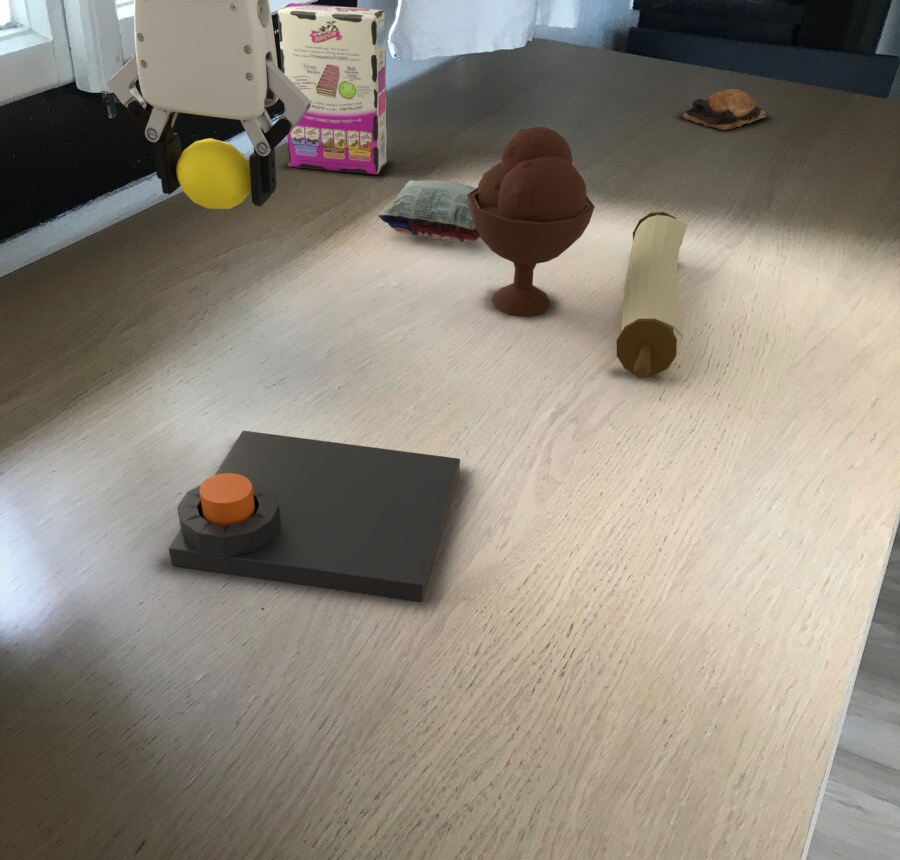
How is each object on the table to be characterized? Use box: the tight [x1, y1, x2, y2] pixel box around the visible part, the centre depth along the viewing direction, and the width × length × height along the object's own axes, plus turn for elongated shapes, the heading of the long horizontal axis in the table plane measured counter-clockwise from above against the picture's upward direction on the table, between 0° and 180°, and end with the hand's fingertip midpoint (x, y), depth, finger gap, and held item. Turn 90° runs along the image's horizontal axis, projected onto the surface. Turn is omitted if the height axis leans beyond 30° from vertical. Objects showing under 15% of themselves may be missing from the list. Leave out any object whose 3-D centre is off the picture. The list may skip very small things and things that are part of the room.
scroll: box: [616, 211, 688, 379], centre depth 89 cm, size 32×6×5 cm, turn 168°
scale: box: [168, 430, 461, 602], centre depth 65 cm, size 16×14×3 cm
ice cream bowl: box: [467, 126, 596, 317], centre depth 87 cm, size 11×11×15 cm
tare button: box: [200, 473, 255, 525], centre depth 61 cm, size 3×3×2 cm
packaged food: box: [377, 179, 481, 243], centre depth 102 cm, size 9×12×5 cm
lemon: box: [176, 137, 251, 210], centre depth 81 cm, size 7×5×5 cm
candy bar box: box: [277, 2, 388, 176], centre depth 112 cm, size 11×5×16 cm, turn 80°
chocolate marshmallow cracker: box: [681, 88, 766, 131], centre depth 138 cm, size 11×8×4 cm
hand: (217, 193), depth 82 cm, fingers closed on lemon, 7 cm apart
